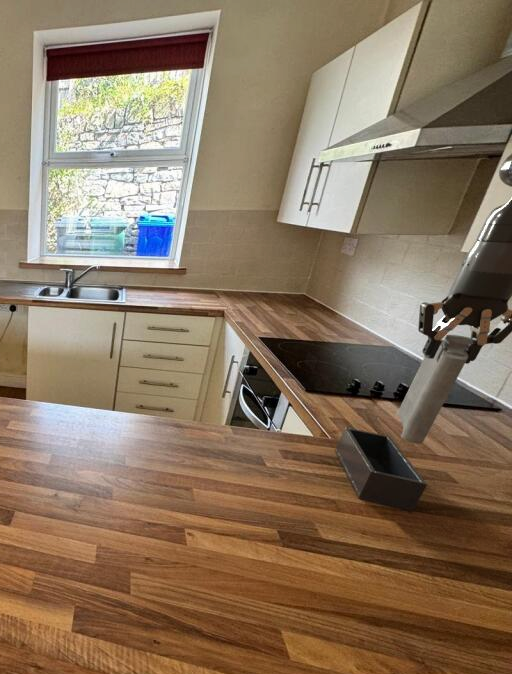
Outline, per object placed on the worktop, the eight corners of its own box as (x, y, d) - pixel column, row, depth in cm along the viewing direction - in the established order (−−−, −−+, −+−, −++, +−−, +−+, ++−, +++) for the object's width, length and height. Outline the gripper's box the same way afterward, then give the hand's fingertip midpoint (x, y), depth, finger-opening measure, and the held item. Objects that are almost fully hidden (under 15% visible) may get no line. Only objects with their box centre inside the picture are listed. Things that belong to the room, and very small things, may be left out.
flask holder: (378, 460, 97) (389, 436, 94) (412, 512, 80) (427, 484, 77) (334, 450, 100) (344, 427, 98) (358, 498, 83) (371, 471, 81)
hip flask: (396, 412, 90) (437, 326, 82) (420, 418, 88) (466, 330, 80) (401, 439, 79) (450, 343, 71) (429, 447, 77) (483, 348, 69)
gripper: (447, 267, 70) (405, 359, 77) (566, 275, 65) (509, 373, 72) (429, 263, 77) (391, 348, 83) (535, 270, 71) (485, 360, 78)
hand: (446, 359), depth 77 cm, fingers closed on hip flask, 4 cm apart
